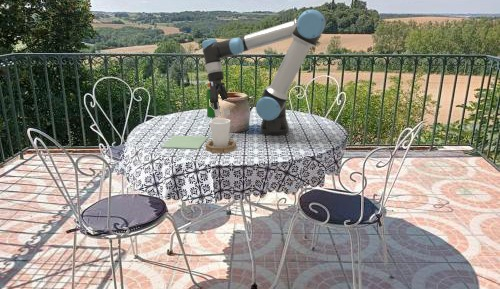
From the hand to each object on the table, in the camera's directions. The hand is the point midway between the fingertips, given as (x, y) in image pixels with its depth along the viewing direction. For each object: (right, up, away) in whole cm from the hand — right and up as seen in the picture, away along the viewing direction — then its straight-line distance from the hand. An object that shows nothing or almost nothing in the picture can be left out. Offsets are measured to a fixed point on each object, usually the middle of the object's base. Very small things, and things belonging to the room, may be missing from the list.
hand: (223, 115), depth 190 cm
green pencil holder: (-9, +4, +51) cm, 52 cm away
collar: (-1, -15, -8) cm, 17 cm away
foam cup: (-1, -16, -8) cm, 17 cm away
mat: (-18, -13, +1) cm, 22 cm away
